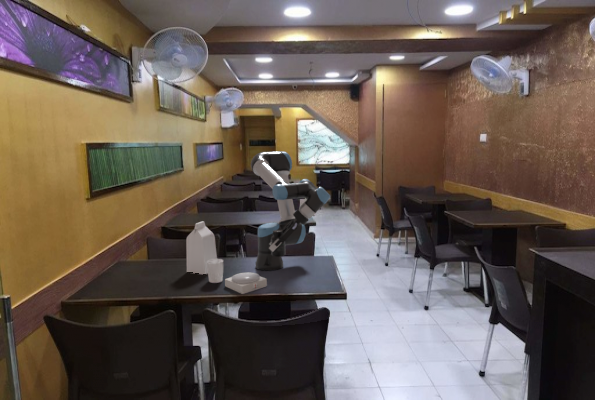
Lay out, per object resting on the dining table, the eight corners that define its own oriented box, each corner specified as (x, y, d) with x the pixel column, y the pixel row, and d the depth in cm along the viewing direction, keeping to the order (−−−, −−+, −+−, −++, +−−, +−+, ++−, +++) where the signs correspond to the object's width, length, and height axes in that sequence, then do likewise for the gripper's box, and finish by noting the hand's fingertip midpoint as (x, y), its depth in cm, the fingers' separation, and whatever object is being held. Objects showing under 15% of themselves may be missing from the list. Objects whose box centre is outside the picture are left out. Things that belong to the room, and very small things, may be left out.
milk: (205, 274, 210) (202, 225, 206) (186, 272, 214) (183, 224, 211) (217, 267, 221) (215, 220, 217) (200, 265, 225) (197, 219, 222)
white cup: (226, 279, 203) (226, 259, 201) (218, 284, 196) (218, 264, 194) (213, 277, 205) (212, 258, 204) (204, 282, 198) (203, 262, 197)
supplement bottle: (270, 253, 201) (269, 230, 199) (283, 252, 203) (282, 228, 201) (273, 257, 195) (272, 233, 193) (286, 256, 197) (286, 231, 195)
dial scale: (225, 286, 193) (224, 276, 192) (249, 279, 202) (249, 270, 201) (243, 294, 182) (242, 284, 181) (267, 286, 191) (267, 277, 191)
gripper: (310, 223, 187) (276, 258, 189) (307, 215, 207) (276, 247, 208) (299, 212, 186) (264, 248, 188) (297, 205, 206) (265, 237, 207)
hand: (271, 247), depth 198 cm, fingers closed on supplement bottle, 7 cm apart
